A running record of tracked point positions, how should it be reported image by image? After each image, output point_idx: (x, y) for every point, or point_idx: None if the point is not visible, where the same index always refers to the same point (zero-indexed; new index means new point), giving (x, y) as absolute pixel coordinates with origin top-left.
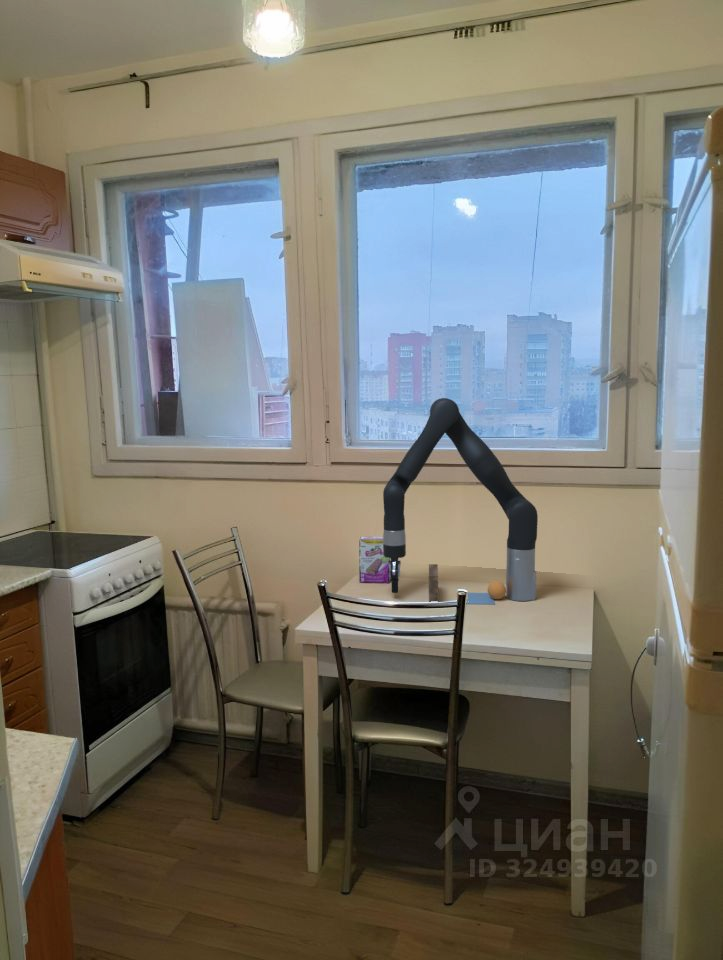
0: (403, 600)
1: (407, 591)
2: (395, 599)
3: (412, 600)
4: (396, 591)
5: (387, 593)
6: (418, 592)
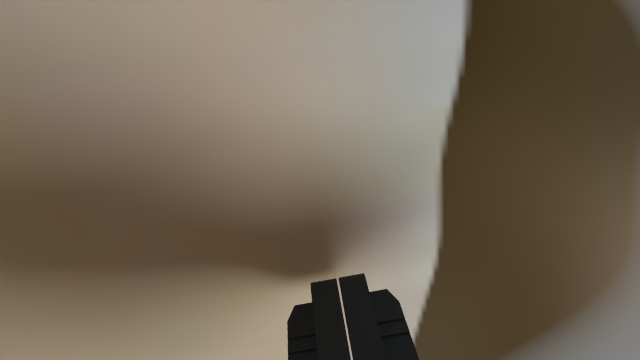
0: (421, 159)
1: (50, 190)
2: (394, 241)
3: (411, 54)
4: (391, 295)
5: (214, 343)
6: (16, 40)
